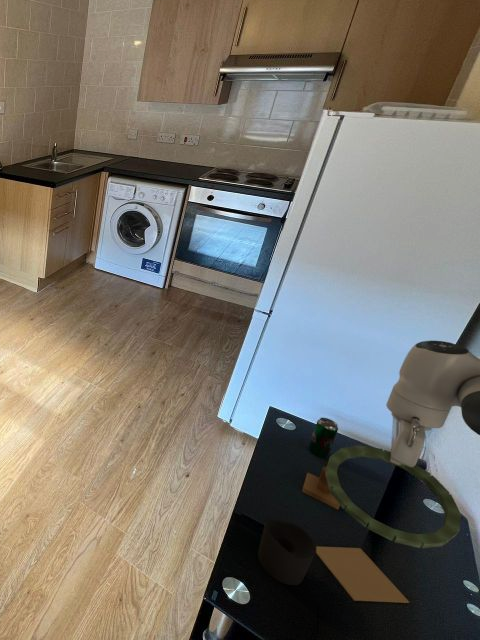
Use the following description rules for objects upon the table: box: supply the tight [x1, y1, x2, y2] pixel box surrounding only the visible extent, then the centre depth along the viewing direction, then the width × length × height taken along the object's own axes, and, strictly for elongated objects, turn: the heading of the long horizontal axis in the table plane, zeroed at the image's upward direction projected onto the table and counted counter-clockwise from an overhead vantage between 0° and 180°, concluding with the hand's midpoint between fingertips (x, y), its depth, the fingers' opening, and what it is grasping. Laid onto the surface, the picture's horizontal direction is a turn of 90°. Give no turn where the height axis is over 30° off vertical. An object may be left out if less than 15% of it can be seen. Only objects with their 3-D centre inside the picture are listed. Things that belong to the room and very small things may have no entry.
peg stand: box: [301, 465, 341, 511], centre depth 115 cm, size 8×8×8 cm
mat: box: [315, 545, 410, 604], centre depth 95 cm, size 12×12×1 cm
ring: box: [325, 444, 462, 549], centre depth 89 cm, size 21×21×2 cm
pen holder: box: [257, 517, 317, 586], centre depth 94 cm, size 9×9×10 cm
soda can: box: [308, 417, 339, 458], centre depth 129 cm, size 5×5×12 cm
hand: (395, 458), depth 94 cm, fingers closed on ring, 2 cm apart
